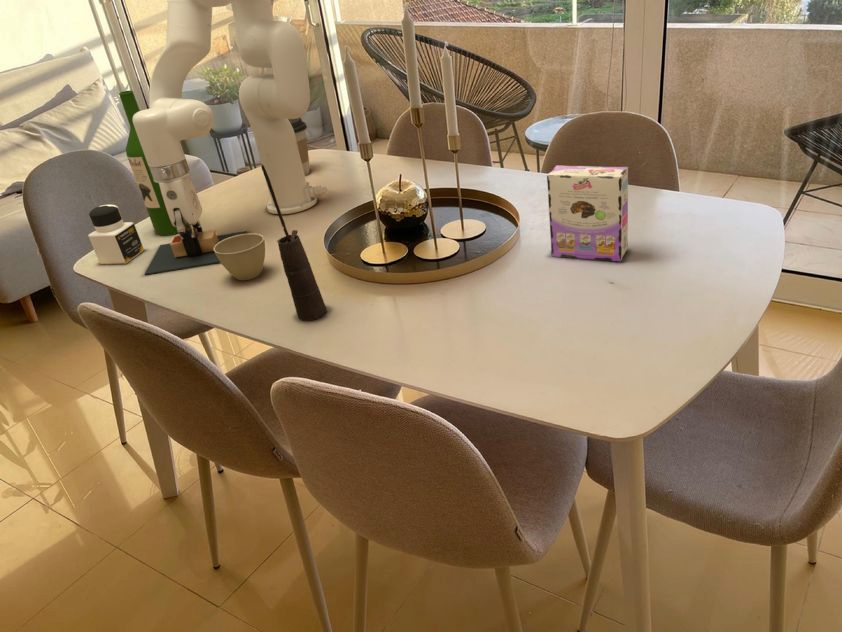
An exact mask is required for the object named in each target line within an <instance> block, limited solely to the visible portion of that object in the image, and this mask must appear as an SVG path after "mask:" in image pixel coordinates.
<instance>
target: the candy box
mask: <svg viewBox="0 0 842 632" xmlns="http://www.w3.org/2000/svg"><path fill="white" fill-rule="evenodd" d="M546 182H547V198H548V199H547V200H548V202H547V203H548V216H549V217H548V218H549V233H550V256H551V257H555V258H556V257H557V258H569V259H570V258H571V259H582V260H594V261H609V262H621V261H622V260H623V259H624V257H625V255H626V253H627V252H628V246H629V245H628V244H629V243H628V241H629V239H628V237H629V236H628V235H629V233H628V232H629V166H594V165H593V166H590V165H585V166H584V165H555V167H553V169H551V171H550V172H548V174H547V175H546Z"/></svg>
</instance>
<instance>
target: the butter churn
mask: <svg viewBox="0 0 842 632" xmlns="http://www.w3.org/2000/svg"><path fill="white" fill-rule="evenodd" d="M261 170H262V174H263V176H264V179H265V182H267V183H266V185H267V184H268V186H267V188H268V187H269V190H270V193H271V195H272V198H273V201H274V204H275V207H276V210H277V212H278V214H277V215H278V218H279V221H280V224H281V226H282V228H283V231H284V235H285V236H282V237H280V238H278V240H276V242H277V246H278V250H279V255H280V260H281V262H282V266H283V271H284V274H285V276H286V279H287V283H288V286H289V290H290V293H291V297H292V300H293V304H294V309H295V311H296V315H297V318H298V319H299V320H301V321H308V322H309V321H314V320H317V319H318V318H322V317H323V316H324V314H325V313H326V312H327V311H328V310H327V307H326V303H325V301H324V298H323V295H322V293H321V291H320V287H319V285H318V283H317V280H316V277H315V274H314V271H313V269H312V266H311V264H310V263H311V262H310V261H309V257H308V255H307V253H306V251H305V248H304V245H303V243H302V240H301V238H300V236H299V234H298V232H299V231H298V230H297V229H293V230H292V231H291V234H289V231H288V230H287V226H286V223H285V220H284V217H283V214H281V211H280V209H279V206H278V203H277V200H276V197H275V194H274V191H273V188H272V185H271V182H270V179H269V177H268V174H267V172H266V170H265V168H264V166H263V164H261ZM269 190H268V191H269Z"/></svg>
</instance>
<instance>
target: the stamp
mask: <svg viewBox="0 0 842 632" xmlns="http://www.w3.org/2000/svg"><path fill="white" fill-rule="evenodd" d="M187 229H188V230H189V228H187ZM193 230H194V234H195V237H196V236H197V238H198V241H199V244H200V247H201V250H202V254H207V253H213V252H214V246H215V245H216V244H217V243H219V240H218V237H217V236H218V233H217V232H216V229H211V230H203V232H198V231H197V228H196V227H193ZM189 231H190V230H189ZM170 243H171V244H170ZM170 243H169V244H170V245H171V248H172V251H173V253H174V256H175V257H176V258H183V257H189V256H188V255H187V253H186V251H185V248H184V245H183V242H182V240H181V237H180V234H177V235H174V237H173V238H172V240H171V242H170ZM199 255H201V254H199ZM193 256H195V255H193Z"/></svg>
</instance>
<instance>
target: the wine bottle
mask: <svg viewBox="0 0 842 632" xmlns="http://www.w3.org/2000/svg"><path fill="white" fill-rule="evenodd" d="M118 95H119V98H120V101H121V104H122V107H123V109H124V113H125V115H126V118H127V122H128V124H129V134H128V136H127V137H128V139H127V142H126V146H125V153H126V158H127V160H128V163H129V165H130V168H131V171H132V173H133V177H134V179H135V182H136V184H137V186H138V190H139V192H140V195H141V197H142V200H143V203H144V206H145V208H146V211H147V213H148V214H147V215H148V216H149V219H150V221H151V224H152V227H153V229H154V232H155V233H156V235H158V236H162V237H164V236H173V235H174V236H175V235H179V233H178V231H177V227H174V226H173V225H172V223H171V220H170V218H169V215H168V212H167V209H166V206H165V203H164V200H163V196H162V193H161V189H160V185H159V183H156V182H154V180H153V177H152V174H151V171H150V169H149V166H148V163H147V160H146V158H145V155H144V152H143V149H142V147H141V144H140V141H139V138H138V135H137V133H136V130H135V127H134V124H133V116H134V114H135V113H137V112H139V111H141V110H140V107H139V105H138V102H137V99H136V97H135V94H134V91H133V90H124V91H121V92H118ZM184 224H186V223H185V222H184ZM185 228H186V229H187V227H185Z"/></svg>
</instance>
